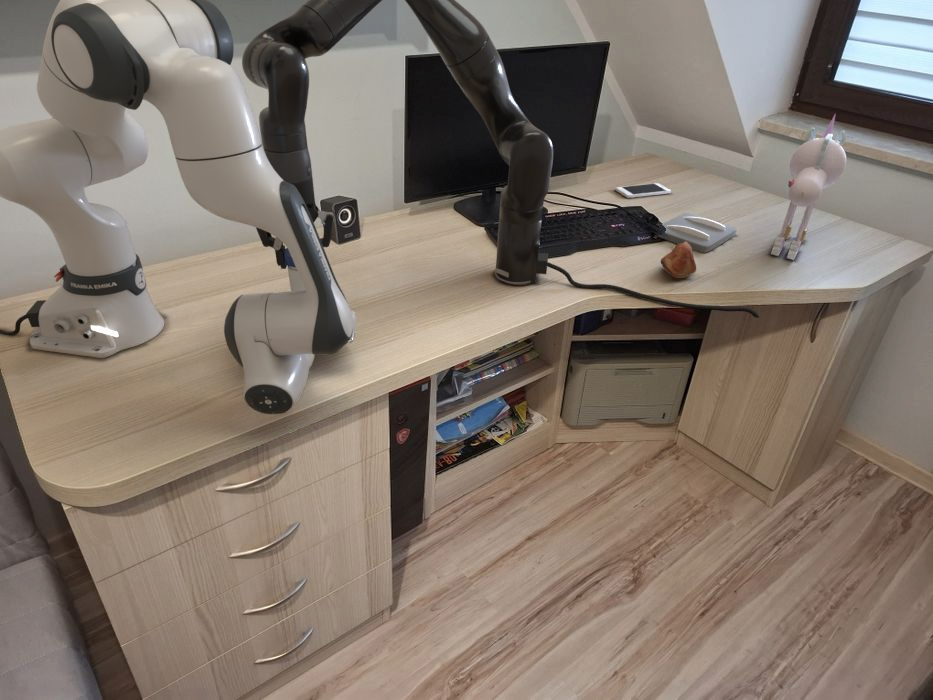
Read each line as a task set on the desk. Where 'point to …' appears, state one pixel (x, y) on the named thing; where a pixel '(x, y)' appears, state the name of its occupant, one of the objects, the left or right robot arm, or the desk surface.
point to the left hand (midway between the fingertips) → (306, 303)
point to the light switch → (697, 232)
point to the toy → (811, 180)
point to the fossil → (680, 261)
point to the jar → (295, 279)
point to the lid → (288, 258)
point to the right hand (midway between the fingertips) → (300, 266)
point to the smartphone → (642, 190)
